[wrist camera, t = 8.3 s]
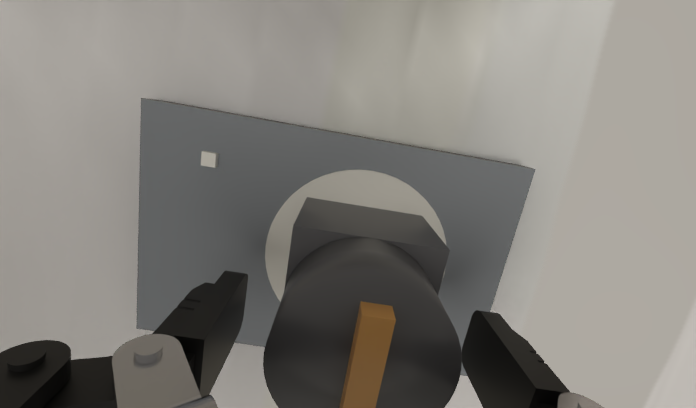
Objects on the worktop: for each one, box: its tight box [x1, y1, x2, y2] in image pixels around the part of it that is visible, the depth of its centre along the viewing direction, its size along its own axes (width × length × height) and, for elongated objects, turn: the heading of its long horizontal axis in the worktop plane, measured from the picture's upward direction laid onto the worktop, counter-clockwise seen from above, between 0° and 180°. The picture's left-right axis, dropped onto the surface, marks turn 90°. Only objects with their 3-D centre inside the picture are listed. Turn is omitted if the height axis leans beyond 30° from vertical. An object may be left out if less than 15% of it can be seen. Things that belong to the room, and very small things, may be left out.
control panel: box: [137, 98, 535, 376], centre depth 14 cm, size 17×11×4 cm, turn 80°
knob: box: [263, 197, 462, 408], centre depth 12 cm, size 5×5×7 cm
